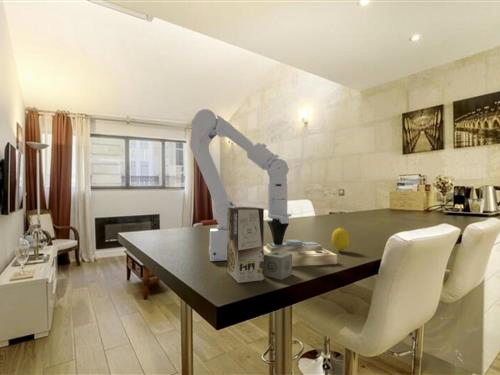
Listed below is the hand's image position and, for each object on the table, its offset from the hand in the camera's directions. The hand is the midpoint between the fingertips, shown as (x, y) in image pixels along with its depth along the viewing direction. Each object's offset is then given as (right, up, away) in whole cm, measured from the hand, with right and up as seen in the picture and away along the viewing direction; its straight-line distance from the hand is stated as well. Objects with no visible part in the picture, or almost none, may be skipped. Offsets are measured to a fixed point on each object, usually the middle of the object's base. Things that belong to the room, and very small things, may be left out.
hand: (278, 244), depth 80 cm
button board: (+5, -4, -1) cm, 7 cm away
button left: (0, -1, 0) cm, 1 cm away
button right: (+10, -1, +2) cm, 10 cm away
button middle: (+5, 0, +1) cm, 5 cm away
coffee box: (-10, -4, -17) cm, 20 cm away
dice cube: (-2, -4, -16) cm, 17 cm away
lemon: (+21, -4, +8) cm, 23 cm away
